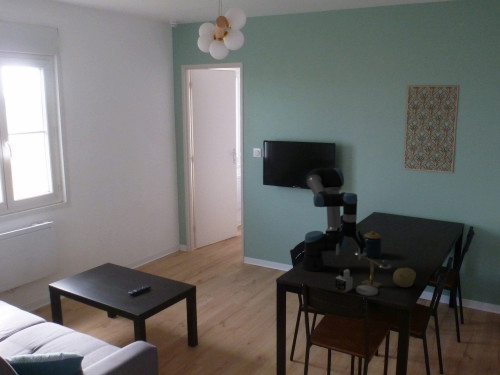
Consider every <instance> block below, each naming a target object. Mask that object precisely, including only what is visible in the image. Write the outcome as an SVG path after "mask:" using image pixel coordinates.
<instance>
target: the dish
mask: <svg viewBox="0 0 500 375" xmlns="http://www.w3.org/2000/svg"><path fill="white" fill-rule="evenodd" d="M355 292H356V293H357V294H359V295H361V296H365V297H366V296H367V297H373V296H376V295H378V293H379V288H378V289H377V288H375V287H373V286H369V285H361V284H360V285H358V286H357V287H356V290H355Z"/></svg>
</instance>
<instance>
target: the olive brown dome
mask: <svg viewBox="0 0 500 375" xmlns="http://www.w3.org/2000/svg"><path fill="white" fill-rule="evenodd" d="M416 276H417V273H416V272H415V270H414V269H411V268H409V267H400V268H399V267H398V268H396V270H395V271H394V272H393V276H392V280H393V282H394V284H395V285H396V286H398V287H401V288H403V289H404V288H410V287H411V286H413V284H414V282H415V279H416V278H417V277H416Z"/></svg>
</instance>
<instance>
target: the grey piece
mask: <svg viewBox="0 0 500 375" xmlns="http://www.w3.org/2000/svg"><path fill="white" fill-rule="evenodd" d="M350 273H351V272H350V269H349V268H345V267H343V268H342V267H341V268H339V269H338V276H336V277H335V280H334V281H335V282H334V283H335V286H334V287H335V288H334V289H335V290H337V291H341V292H342V293H347V292H349V291H351V290H352V289H353V282H354V281H353V278H354V277H352V276H350Z"/></svg>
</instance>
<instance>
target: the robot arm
mask: <svg viewBox="0 0 500 375" xmlns="http://www.w3.org/2000/svg"><path fill="white" fill-rule="evenodd" d="M305 182H306V185H307V187H308V188H310V190H311V191H312V194H313V199H312V200H313V206H314V207H315V208H317V207H318V208H326V220H327V229H326V230H325V233H324V232H323V230H312V231H308V232H307V233H306V234H305V235H304V256H303V259H302V262H301V268H302V269H303V270H305V271H310V272H319V271H323V270H325V269H326V263H325V259H324V253H327V252H330V253H331V252H335V256H338V255H340V252H343V251H345V250H346V248H347V244H348V238H352V239H353V240H354V242H356V244H357V246H358V247H359V248H358V251H359V253H358V256H357V257H358V258H357V260H359V261H360V260H361V259H362V257H361V255H362V254H363V248H365V247H367V245H366V243H365V240H364V238H363V237H364V235H363V231H362V230H361V229H360V230H357V219H358V217H357V216H358V215H357V214H358V213H357V212H358V195H357V194H356V193H354V192H345V191H342V192H340V191H341V189H342V187H343V186H344V184H345V178H344V173H343V171H342V170H341V168H335V167H333V168H330V167H329V168H328V167H327V168H315V169H312V170H311V171H309V173H308V174H307V175H306V178H305ZM341 207H342V210H343V211H342V216H341ZM341 217H342V218H341ZM341 219H342V220H341Z"/></svg>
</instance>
